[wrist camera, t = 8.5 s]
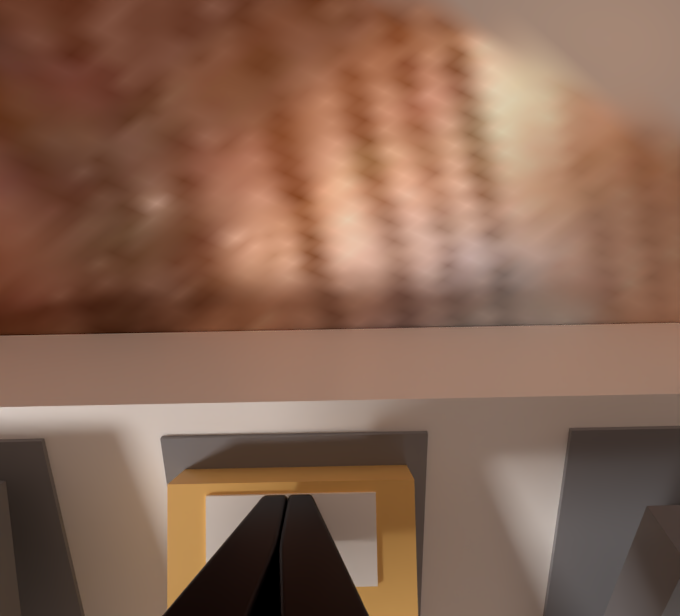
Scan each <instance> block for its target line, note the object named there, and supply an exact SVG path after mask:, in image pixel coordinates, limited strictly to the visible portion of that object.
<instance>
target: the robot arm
mask: <svg viewBox="0 0 680 616" xmlns="http://www.w3.org/2000/svg"><path fill="white" fill-rule="evenodd" d="M162 616H369V614H368V612H367V610H366V608H365V606H364V604H363V602H362V599H361V597H360V595H359V593H358V591H357V589H356V587H355V585H354V583H353V580H352V578H351V576H350V574H349V572H348V570H347V568H346V566H345V564H344V561H343V559H342V557H341V555H340V553H339V551H338V549H337V547H336V544H335V542H334V540H333V538H332V536H331V534H330V532H329V530H328V528H327V525H326V523H325V521H324V519H323V517H322V515H321V513H320V511H319V509H318V506H317V504H316V502H315V500H314V498H313V497H312V495H310V494H294V495H290V496H289V497H288V498H287V496H285V495H265V496H263V497H262V498H261V499H260V500H259V501H258V503H257V504H256V505H255V506H254V507H253V509H252V510H251V511H250V512H249V513H248V515H247V516H246V517H245V518H244V519H243V520H242V522H241V523H240V524H239V525H238V526H237V528H236V529H235V530H234V531H233V532H232V534H231V535H230V536H229V537H228V538H227V539H226V541H225V542H224V543H223V544H222V545H221V547H220V548H219V549H218V550H217V551H216V552H215V554H214V555H213V556H212V557H211V558H210V560H209V561H208V562H207V563H206V564H205V566H204V567H203V568H202V569H201V570H200V571H199V573H198V574H197V575H196V576H195V577H194V579H193V580H192V581H191V582H190V583H189V585H188V586H187V587H186V588H185V589H184V590H183V592H182V593H181V594H180V595H179V596H178V598H177V599H176V600H175V601H174V602H173V604H172V605H171V606H170V607H169V608H168V609H167V611H166V612H165V613H164V614H163V615H162Z"/></svg>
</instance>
